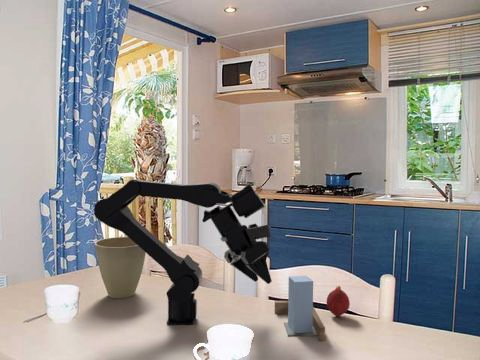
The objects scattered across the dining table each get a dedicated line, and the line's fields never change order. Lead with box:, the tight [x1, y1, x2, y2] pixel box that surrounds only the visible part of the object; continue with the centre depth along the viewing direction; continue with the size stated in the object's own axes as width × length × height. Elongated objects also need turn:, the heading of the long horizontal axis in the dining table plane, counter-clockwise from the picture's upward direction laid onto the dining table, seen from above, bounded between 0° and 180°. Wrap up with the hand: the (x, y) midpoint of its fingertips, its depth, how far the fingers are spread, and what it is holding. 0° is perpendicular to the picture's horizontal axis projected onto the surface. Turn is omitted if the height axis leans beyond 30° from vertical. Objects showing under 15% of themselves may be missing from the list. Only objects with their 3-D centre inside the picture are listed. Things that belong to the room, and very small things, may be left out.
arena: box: [274, 300, 326, 342], centre depth 98 cm, size 9×17×3 cm, turn 1°
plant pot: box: [94, 236, 147, 299], centre depth 119 cm, size 15×15×16 cm
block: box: [287, 275, 314, 333], centre depth 95 cm, size 4×4×12 cm
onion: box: [326, 285, 351, 318], centre depth 104 cm, size 6×6×8 cm
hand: (263, 281), depth 100 cm, fingers open, 9 cm apart
